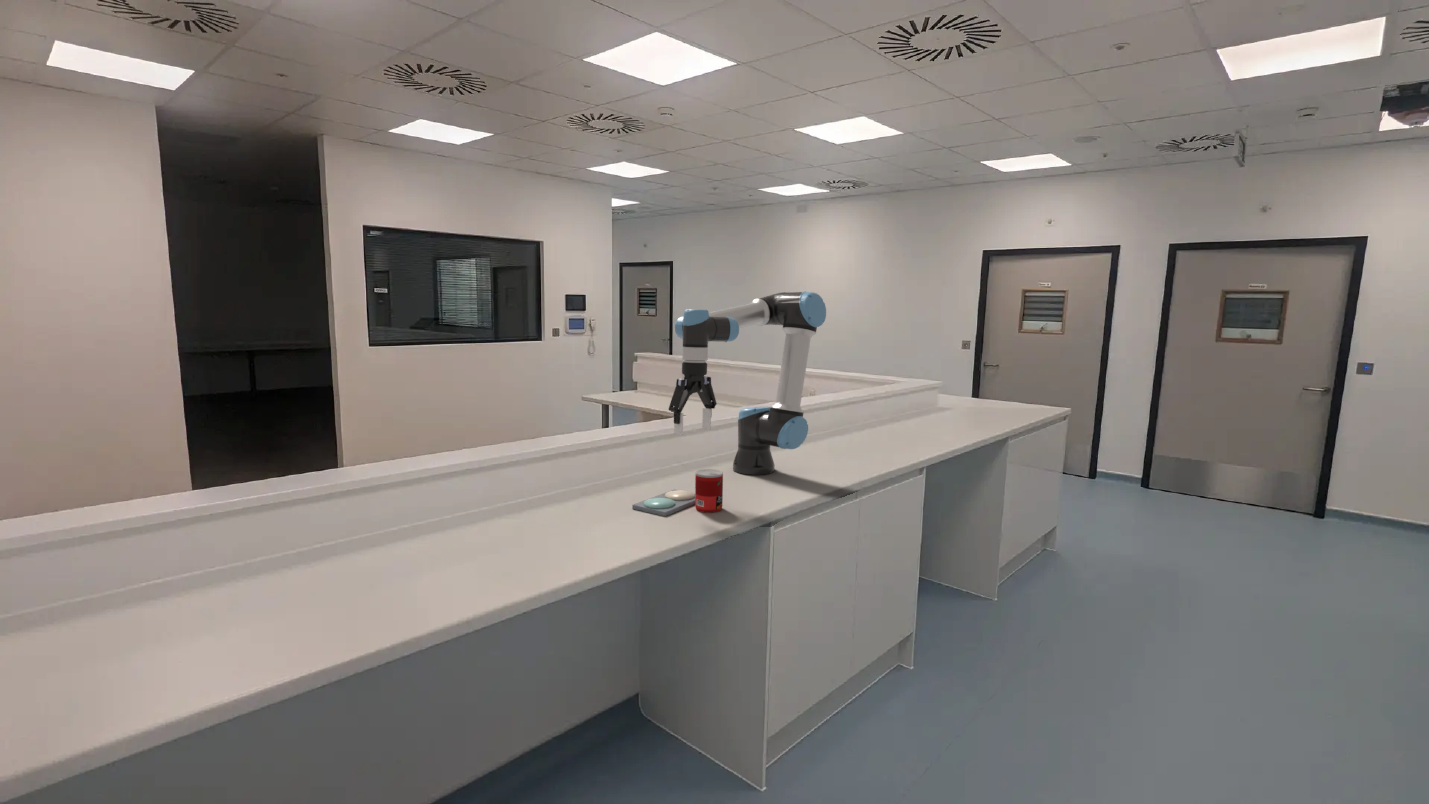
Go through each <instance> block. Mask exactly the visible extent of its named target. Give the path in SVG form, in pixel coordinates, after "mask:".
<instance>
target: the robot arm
mask: <svg viewBox="0 0 1429 804" xmlns="http://www.w3.org/2000/svg"><path fill="white" fill-rule="evenodd" d="M826 318H827V307H826V303H825V301H824V299H823V298H822V296H821V295H820V294H818V293H816V292H813V291H812V292H811V291H795V292H790V291H789V292H788V291H787V292H785V291H784V292H778V293H774V294H770V295H766V296H762V297H758V298H755V299H753V300H752V301H751V302H750V303H747V304H741V305H737V306H732V307H726V308H723V309H718V310H714V311H709V310H708V309H698V308H695V309H694V308H692V309H691V308H686V309H685V310H684V311H683V315H682V316H679V317H678V318H677V319H676V322H675V324H674V330H675V334H676V335H677V337H679V339H682V357H681V358H682V359H681V360H682V363H681V374H682V375H684V377H683V378H679V377H678V378H677V379H676V383H675V389H674V390H673V394H672V397H671V400H670V402H669V406H668V411H669V412H671V413H673V423H674V424H673V425H674V427H673V429H674V430H673V435H677V436H683V435H684V412H683V410H684V407H685V406H686V404H687V402H688V400H689V399H690V396H691V395H693V394H697V395H698V396H699V399H700V401H701V402H702V404H703V406H704V407H703V408H702V421H701V426H702V427H701V429H702V430H708V431H710V430H711V427H712V426H711V425H712V416H713V415H712V413H713V412H712V411H713V410H714V409H716V406H717V401H716V400H717V399H716V396H715V392H714V389H713V386H712V385H713V384H712V377H711V376H706V375H708V363H707V362H706V361H708V356H709V355H708V351H709V348H708V347H709V342H723V343H727V342H733V341H735V340H736V339H737V338H738V336H739V334H740V329H743V328H746V327H750V326H755V325H757V326H759V327H762V326H767V325H768V326H770V325H771V326H772V325H775V326H782V331H783V332H784V333H785V339H784V344H783V345H784V347H783V350H782V351H783V352H782V358H781V363H780V364H781V365H780V372H779V376H778V383H777V390H776V397H775V402H774V403H773V404H772V405H770V406H754V407H744V408H741V409H740V410H739V412H738V418H737V438H738V439H737V450H736V454H735V456H734V459H733V462H732V470H733V471H734V472H735V473H738V474H742V475H751V476H752V475H753V476H761V475H768V474H771V473H774V472H775V463H774V462H775V461H774V457H773V454H772V451H771V447H776V448H780V449H782V450H796V449H798V448H799V447H801V446H802V445H803V443H804V442H805V441H806V438H807V436H808V432H809V424H808V421H807V419H806V418H805V417H804V410H803V409H802V407H801V403H802V395H803V390H804V384H805V378H806V377H805V376H806V372H807V371H806V370H807V364H808V358H809V352H810V345H811V338H812V337H814V336H815V335H816V334H817V328H819V327H821V326H823V325H824V322H826Z"/></svg>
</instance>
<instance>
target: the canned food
mask: <svg viewBox="0 0 1429 804" xmlns="http://www.w3.org/2000/svg"><path fill="white" fill-rule="evenodd" d="M723 473H724V472H723V471H721V470H719V469H713V468H712V469H711V468H710V469H709V468H705V469H698V470H697V471H695V476H694V477H695V479H694V480H695V481H694V483H695V487H694V489H695V493H694V494H695V504H694V506H695V507H694V508H695V509H696V511H698V512H701V513H706V514H707V513H709V514H710V513H718V512H720V511H721V510H722V509H723V496H724V495H723V493H724V492H723V491H724V490H723V489H724V487H723V486H724V474H723Z"/></svg>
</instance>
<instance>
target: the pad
mask: <svg viewBox="0 0 1429 804" xmlns="http://www.w3.org/2000/svg"><path fill="white" fill-rule="evenodd" d="M651 498H652V497H651ZM647 499H648V500H647ZM647 499H645V500H646V501H644V500H643V501H644V506H645V507H648V508H652V509H665V508H670V507H673V506H674V505H675V501H674V500H672V499H668V498H652V499H650V498H647Z"/></svg>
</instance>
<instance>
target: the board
mask: <svg viewBox="0 0 1429 804" xmlns="http://www.w3.org/2000/svg"><path fill="white" fill-rule="evenodd" d="M652 498H668V499H672V500H674V501H675V505H674V506H673V507H670V508H665V509H652V508H648V507H645V506H644V501H646V500H648V499H652ZM693 505H694V506H695V493H694V492H693V491H691V490H682V489H681V490H680V489H679V490H678V489H673V490H670V491H669V490H668V491H667V492H664V493H662V494H659V495H656V496H653V497H651V498H647V499H645V500H641V501H638V502H637V503H634V504H632V508H631V509H633V510H636V511H639V512H645V513H649V514H653V515H658V516H662V517H667V516H670V515H673V514H674V513H676V512H679V511H681V510H684V509H686V508H687V509H688V508H690V507H691V506H693Z"/></svg>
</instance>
